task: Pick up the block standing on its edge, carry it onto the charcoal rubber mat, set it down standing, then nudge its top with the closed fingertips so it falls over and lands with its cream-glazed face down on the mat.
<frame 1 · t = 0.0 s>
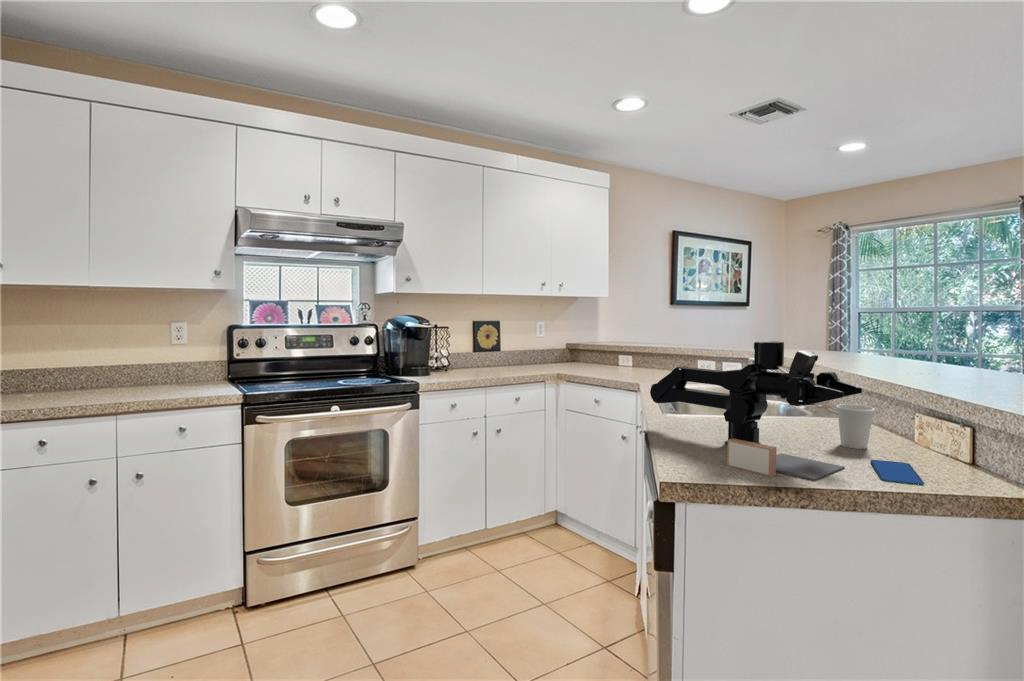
hand: (852, 392, 120), 17 cm above the worktop, tool horizontal, fingers open, 9 cm apart
smartphone: (895, 475, 117), on the worktop
block: (750, 470, 120), on the worktop
mat: (796, 466, 122), on the worktop
dixie cup: (854, 446, 140), on the worktop
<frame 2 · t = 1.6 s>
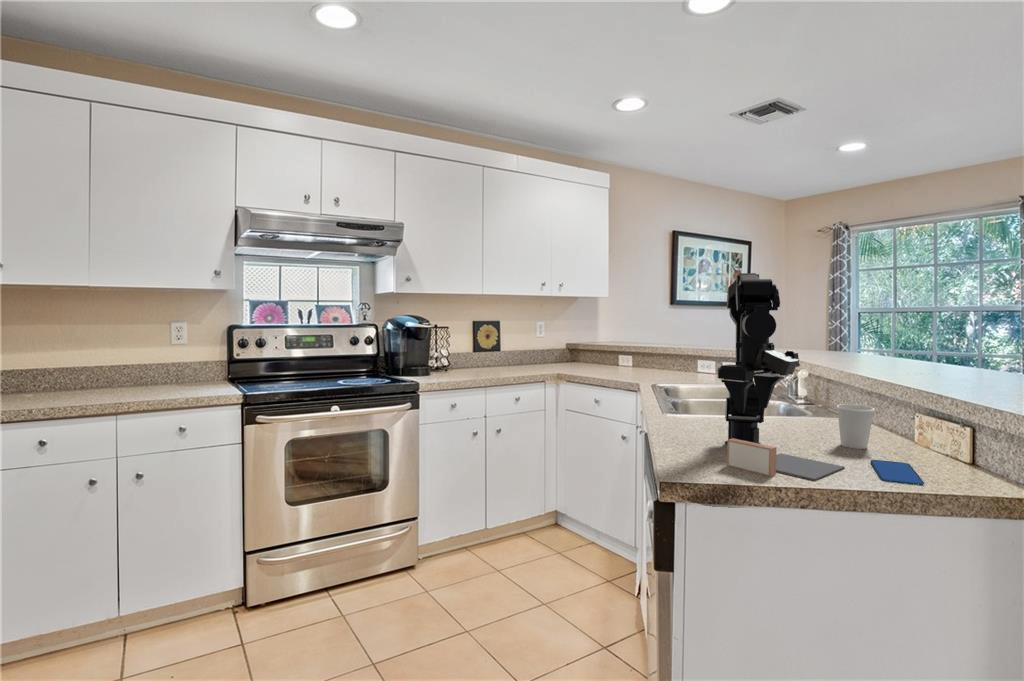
hand: (753, 410, 119), 13 cm above the worktop, tool pointing down, fingers open, 9 cm apart
nothing on the worktop moved.
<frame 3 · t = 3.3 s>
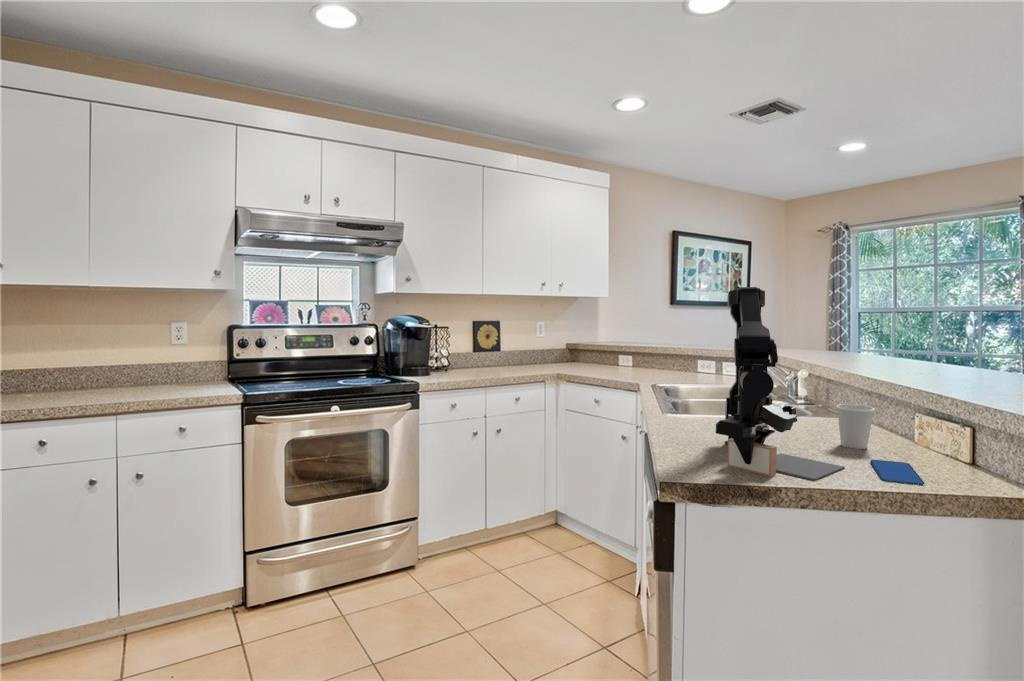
hand: (750, 463, 120), 2 cm above the worktop, tool pointing down, fingers closed on block, 2 cm apart
block: (751, 470, 120), on the worktop, touching gripper
everything else where it was.
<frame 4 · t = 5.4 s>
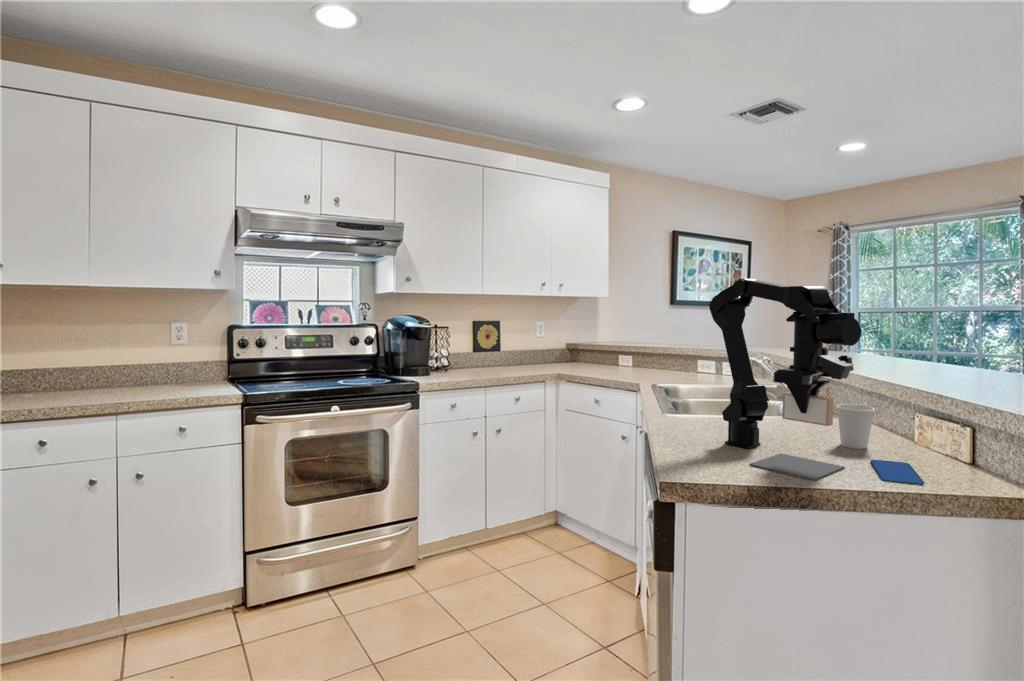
hand: (806, 412, 124), 12 cm above the worktop, tool pointing down, fingers closed on block, 2 cm apart
block: (806, 421, 124), point 10 cm above the worktop, touching gripper
everything else where it was.
when the fingers open (3 cm above the worktop, at t = 7.2 s): block stays where it is, resting on mat.
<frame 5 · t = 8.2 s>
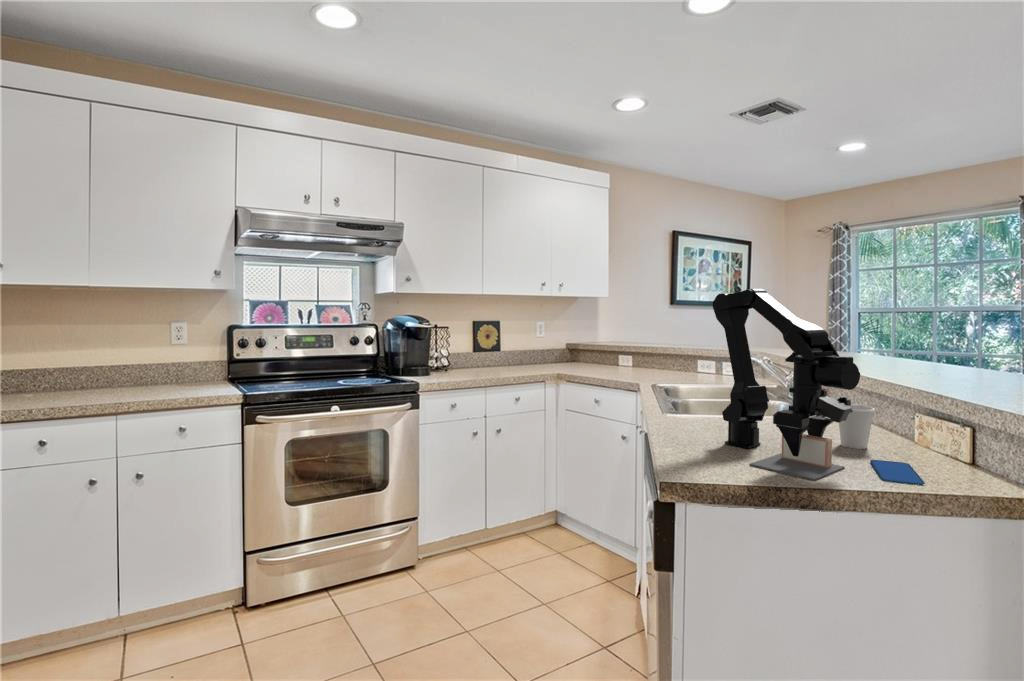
hand: (805, 452, 124), 3 cm above the worktop, tool pointing down, fingers open, 9 cm apart
block: (805, 462, 124), resting on mat
everything else where it was.
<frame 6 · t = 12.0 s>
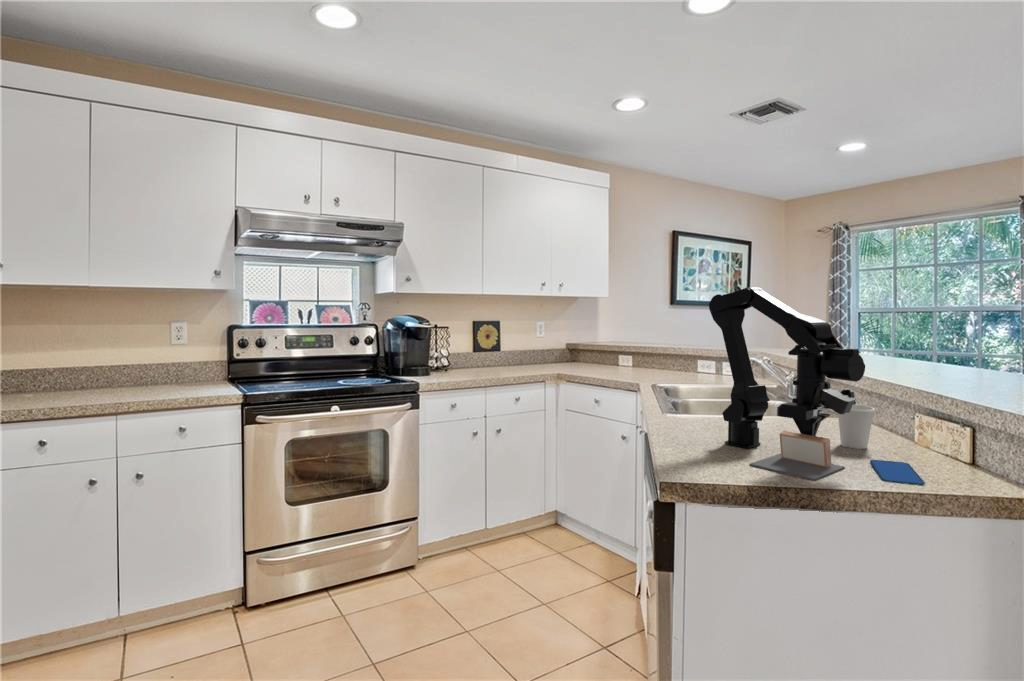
hand: (809, 444, 125), 4 cm above the worktop, tool pointing down, fingers closed
block: (805, 461, 124), point 1 cm above the worktop, tilted 11°, touching mat
everything else where it was.
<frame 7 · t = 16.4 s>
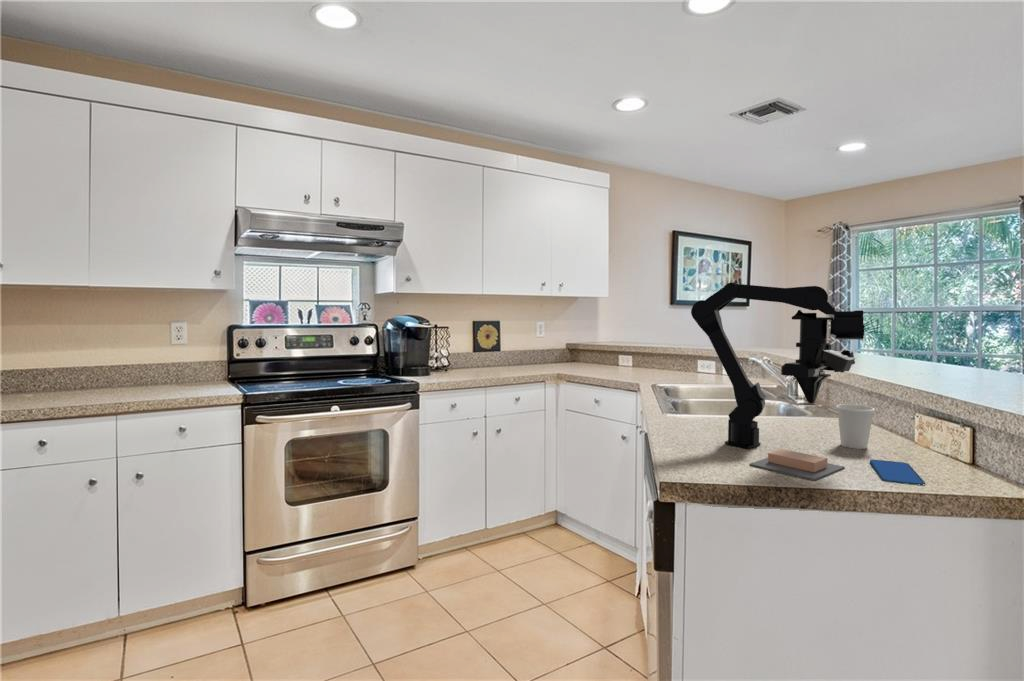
hand: (811, 403, 133), 12 cm above the worktop, tool pointing down, fingers closed
block: (803, 457, 124), point 2 cm above the worktop, tilted 90°, touching mat
everything else where it was.
at the end: block tilted 90°; block inside the target area (3.6 cm from its centre), point 1.5 cm above the worktop; the gripper is holding nothing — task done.
